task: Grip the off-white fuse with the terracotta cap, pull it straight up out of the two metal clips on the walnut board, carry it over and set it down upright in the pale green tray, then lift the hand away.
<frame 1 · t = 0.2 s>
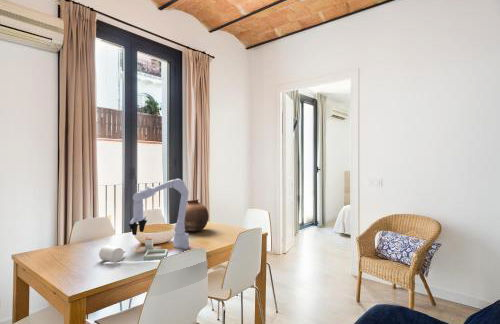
hand: (138, 233, 184), 10 cm above the table, tool pointing down, fingers open, 7 cm apart
pottery: (193, 231, 234), on the table
tray: (156, 256, 171), on the table
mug: (114, 260, 164), on the table
clip board: (149, 250, 182), on the table
fuse: (149, 249, 182), point 1 cm above the table, touching clip board
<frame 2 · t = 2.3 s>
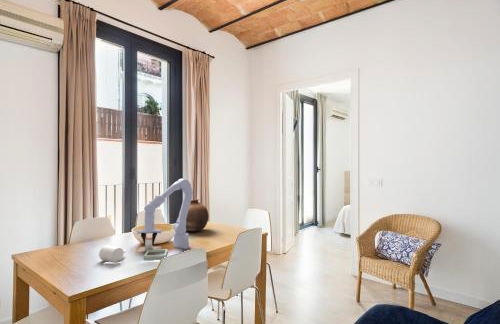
hand: (149, 245, 182), 3 cm above the table, tool pointing down, fingers closed on fuse, 4 cm apart
fuse: (149, 249, 182), point 1 cm above the table, touching clip board, gripper
everything else where it was.
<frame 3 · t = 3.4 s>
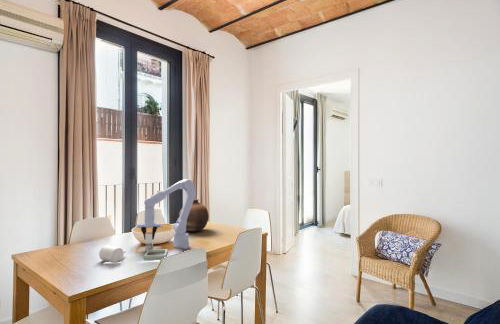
hand: (149, 239, 182), 7 cm above the table, tool pointing down, fingers closed on fuse, 4 cm apart
fuse: (149, 243, 182), point 5 cm above the table, touching gripper
everything else where it was.
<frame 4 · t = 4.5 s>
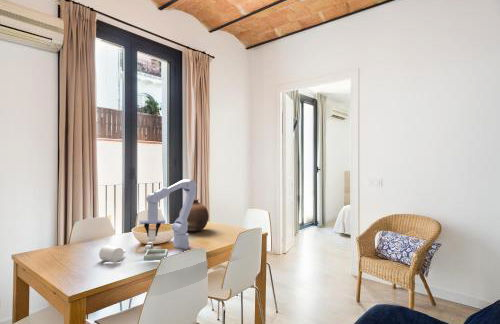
hand: (152, 236, 177), 10 cm above the table, tool pointing down, fingers closed on fuse, 4 cm apart
fuse: (152, 240, 177), point 8 cm above the table, touching gripper
everything else where it was.
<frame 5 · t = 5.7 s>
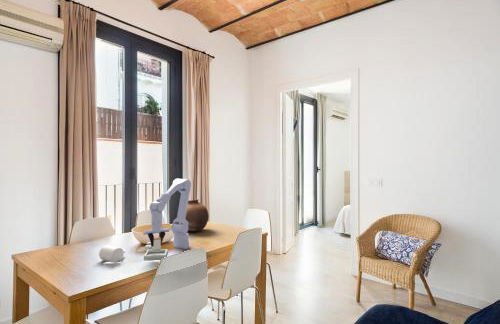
hand: (156, 245, 171), 6 cm above the table, tool pointing down, fingers closed on fuse, 4 cm apart
fuse: (156, 249, 171), point 4 cm above the table, touching gripper
everything else where it was.
when the fingers open (5 cm above the table, at t = 6.9 s): fuse drops 1 cm, resting on tray.
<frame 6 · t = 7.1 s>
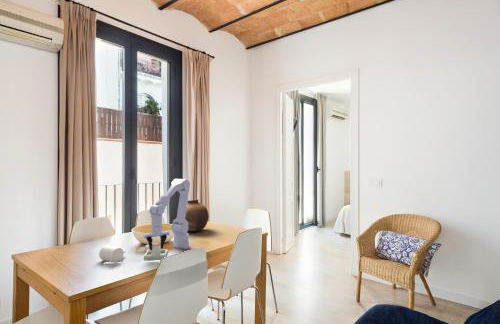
hand: (156, 248, 171), 5 cm above the table, tool pointing down, fingers open, 6 cm apart
fuse: (156, 255, 171), point 1 cm above the table, touching tray
everything else where it was.
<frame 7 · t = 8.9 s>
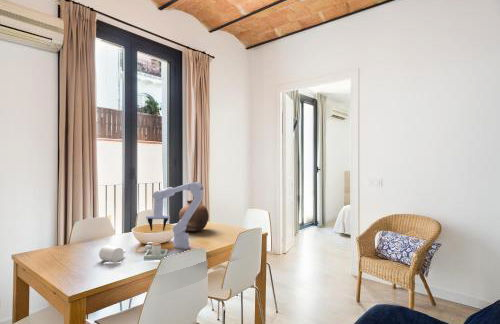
hand: (157, 230, 191), 10 cm above the table, tool pointing down, fingers open, 7 cm apart
nothing on the table moved.
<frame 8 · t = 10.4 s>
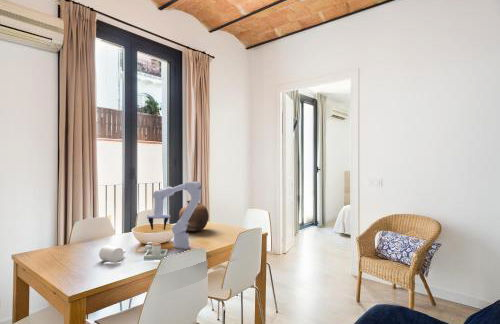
hand: (158, 229, 193), 10 cm above the table, tool pointing down, fingers open, 7 cm apart
nothing on the table moved.
at the end: fuse inside the target area on the tray (0.2 cm from its centre), point 0.6 cm above the tray's base; fuse tilted 0°; the gripper is holding nothing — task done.
